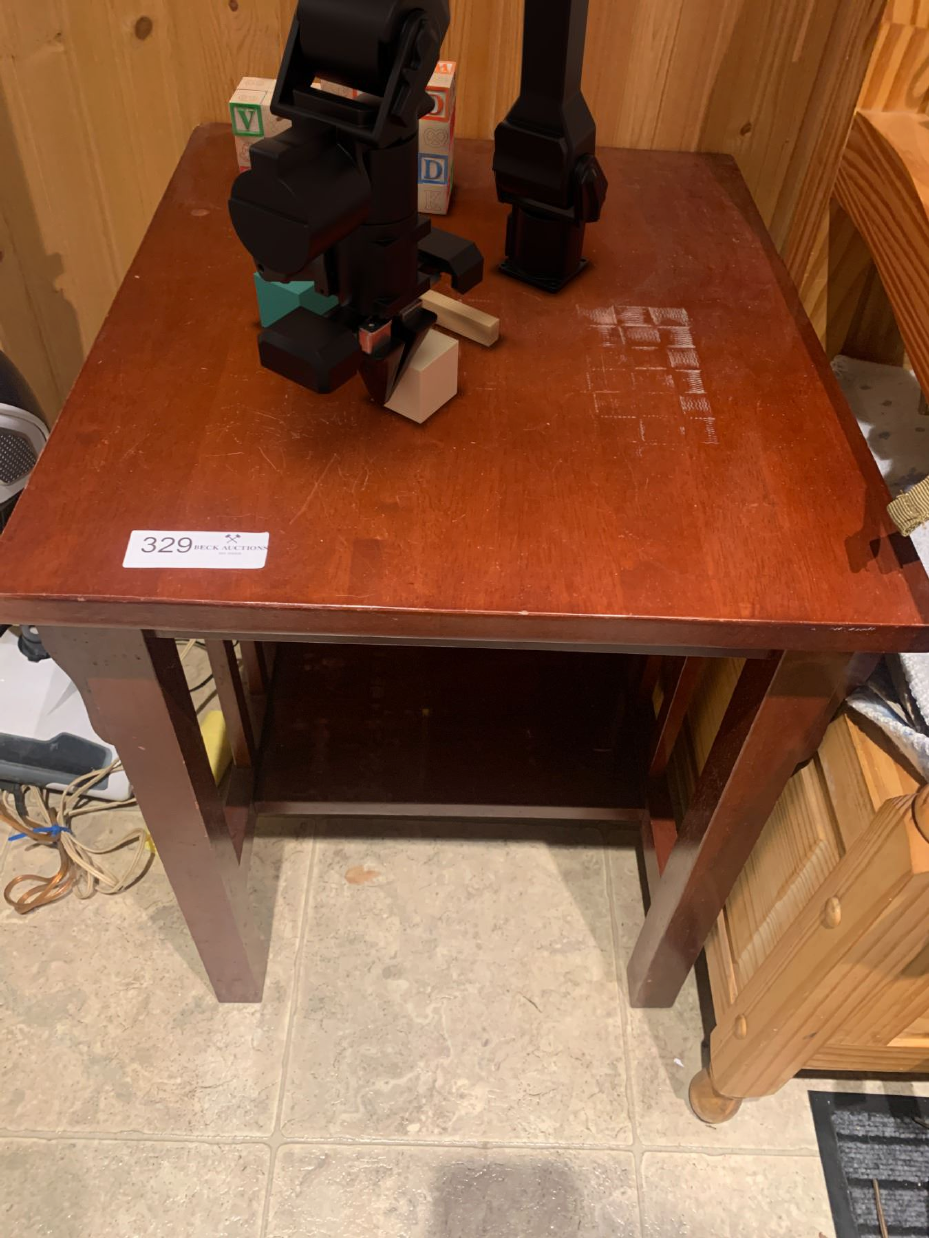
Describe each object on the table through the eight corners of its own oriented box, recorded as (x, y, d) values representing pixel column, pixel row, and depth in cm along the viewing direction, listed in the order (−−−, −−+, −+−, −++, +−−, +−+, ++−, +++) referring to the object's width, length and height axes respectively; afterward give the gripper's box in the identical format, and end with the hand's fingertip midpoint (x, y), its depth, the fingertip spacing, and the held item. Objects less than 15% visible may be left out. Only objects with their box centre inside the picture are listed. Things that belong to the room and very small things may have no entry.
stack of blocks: (241, 197, 94) (221, 66, 85) (256, 169, 98) (238, 41, 89) (447, 215, 93) (450, 85, 84) (454, 186, 97) (457, 58, 88)
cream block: (457, 393, 75) (458, 340, 71) (420, 424, 73) (420, 371, 69) (408, 370, 77) (407, 318, 73) (371, 400, 74) (368, 347, 70)
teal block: (342, 320, 81) (338, 268, 77) (304, 347, 79) (298, 294, 75) (299, 301, 83) (293, 249, 79) (261, 326, 80) (253, 273, 76)
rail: (498, 339, 80) (499, 319, 79) (488, 347, 79) (489, 327, 78) (339, 270, 86) (338, 250, 85) (329, 277, 86) (327, 257, 84)
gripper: (367, 121, 67) (374, 312, 79) (177, 219, 57) (218, 421, 69) (494, 167, 63) (481, 360, 75) (314, 280, 53) (333, 482, 65)
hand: (380, 401), depth 71 cm, fingers closed
